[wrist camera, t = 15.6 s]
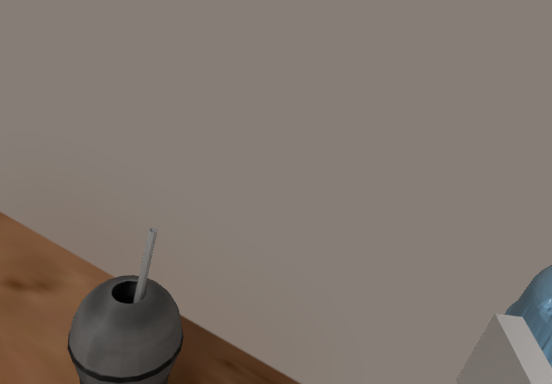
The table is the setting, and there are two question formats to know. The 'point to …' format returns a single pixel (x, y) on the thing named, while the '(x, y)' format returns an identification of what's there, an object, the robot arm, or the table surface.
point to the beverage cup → (126, 330)
